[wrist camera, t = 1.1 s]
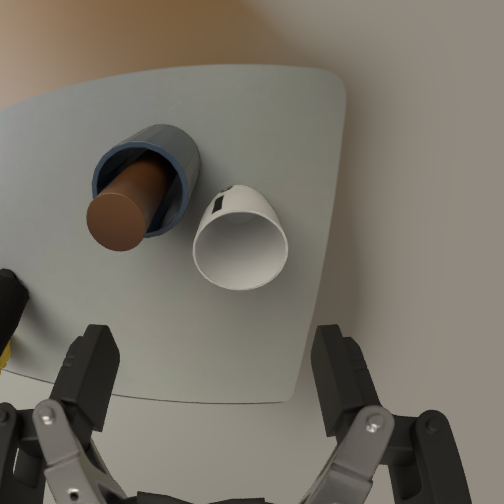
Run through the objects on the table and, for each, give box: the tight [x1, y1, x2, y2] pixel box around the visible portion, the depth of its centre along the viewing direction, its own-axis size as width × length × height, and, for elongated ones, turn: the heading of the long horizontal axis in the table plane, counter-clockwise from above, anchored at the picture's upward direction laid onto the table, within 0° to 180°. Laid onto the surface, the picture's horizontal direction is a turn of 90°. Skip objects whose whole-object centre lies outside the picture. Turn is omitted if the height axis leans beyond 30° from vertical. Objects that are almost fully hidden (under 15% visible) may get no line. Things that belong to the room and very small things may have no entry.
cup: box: [193, 185, 288, 290], centre depth 30 cm, size 8×8×10 cm
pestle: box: [86, 149, 178, 251], centre depth 24 cm, size 4×4×14 cm
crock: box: [92, 124, 200, 238], centre depth 27 cm, size 9×9×9 cm
